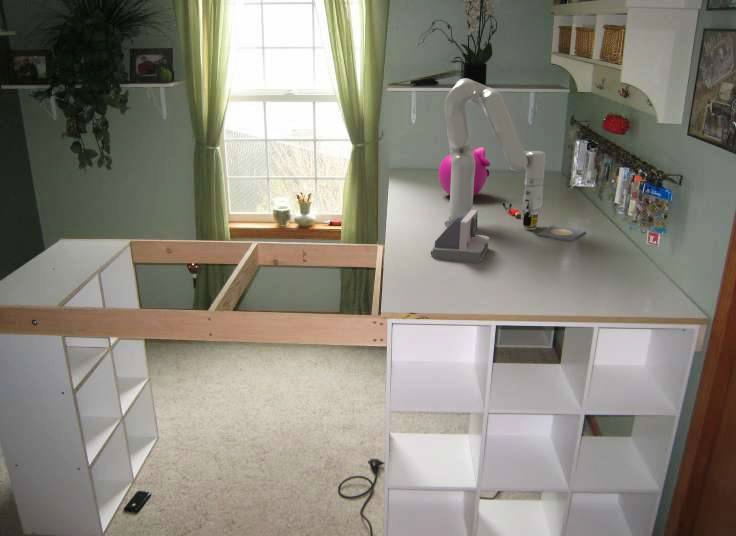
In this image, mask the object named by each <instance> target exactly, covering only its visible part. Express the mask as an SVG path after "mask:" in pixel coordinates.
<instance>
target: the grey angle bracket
mask: <svg viewBox="0 0 736 536" xmlns="http://www.w3.org/2000/svg"><path fill="white" fill-rule="evenodd" d="M478 214H479V210H478V209H472V210H471V211H463V212H462V213H461V214H460V215H459V216H457V218H456V219H455V220H454V221H453V222H452V223H451V224H450V225H449V226H448V227H446V229H445V230H444V231H443V232H442V233H441V234H440V235H439V236H438V237H437V239H436V240H435V241H434V246H433V248H432V250H431V251H430V255H431V256H432V259H436V260H445V261H453V262H454V261H455V262H461V263H472V264H479V263H480V262H481V261H482V259H483V258H484V256H485V254H486V253H487V251H488V249H489V241H490V237H489V236H487V235H482V234H477V232H478V219H479V218H478Z"/></svg>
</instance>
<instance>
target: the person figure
mask: <svg viewBox="0 0 736 536" xmlns="http://www.w3.org/2000/svg"><path fill="white" fill-rule="evenodd" d="M502 206H503V209H506V212H507V214H508V215H509V214H510V215H509V216H511V215H512V216H511V217H514V218H516V219H521V217H522V214H521V212H520V210H519V209H518V207H516V208H512V203H509V207H508V206H506V204H505V202H502Z"/></svg>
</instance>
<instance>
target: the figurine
mask: <svg viewBox="0 0 736 536" xmlns="http://www.w3.org/2000/svg"><path fill="white" fill-rule="evenodd" d="M473 154H474V159H475V175H474V188H473V197H474V196H475V195H477V194H479V193H480V192H481V191H482V189H483V188H484V187H485V184H486V182H487V177H489V176H490V170H489V169H487V167H490V166H491V163H490V162H489V160H488V159H487V157H486V149H485V148H484V147H482V146H480V147H478V148H475V149H473ZM451 165H452V160H451V154H448V155H446V157H445V158H443V160H442V161H441V163H440V165H439V169H438V180H439V181H438V182H439V184H440V186H441V187H440V188H441V189H442V190H443V191H444V192H445V193H446V194H447V195H449V196H450V188H451Z"/></svg>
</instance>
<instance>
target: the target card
mask: <svg viewBox="0 0 736 536" xmlns="http://www.w3.org/2000/svg"><path fill="white" fill-rule="evenodd" d="M586 231H587V230H583V229H577V228H572V227H566V226H561V225H555V224H553V225H551V226H549V227H547V228H545V229H543V230H542V231H540V232H538V233H537V236H539V237H543V238H549V239H555V240H561V241H565V242H569V243H572V242H574V241H575V240H576V239H577V238H579V237H581V236H582V235H584V234H586Z"/></svg>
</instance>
